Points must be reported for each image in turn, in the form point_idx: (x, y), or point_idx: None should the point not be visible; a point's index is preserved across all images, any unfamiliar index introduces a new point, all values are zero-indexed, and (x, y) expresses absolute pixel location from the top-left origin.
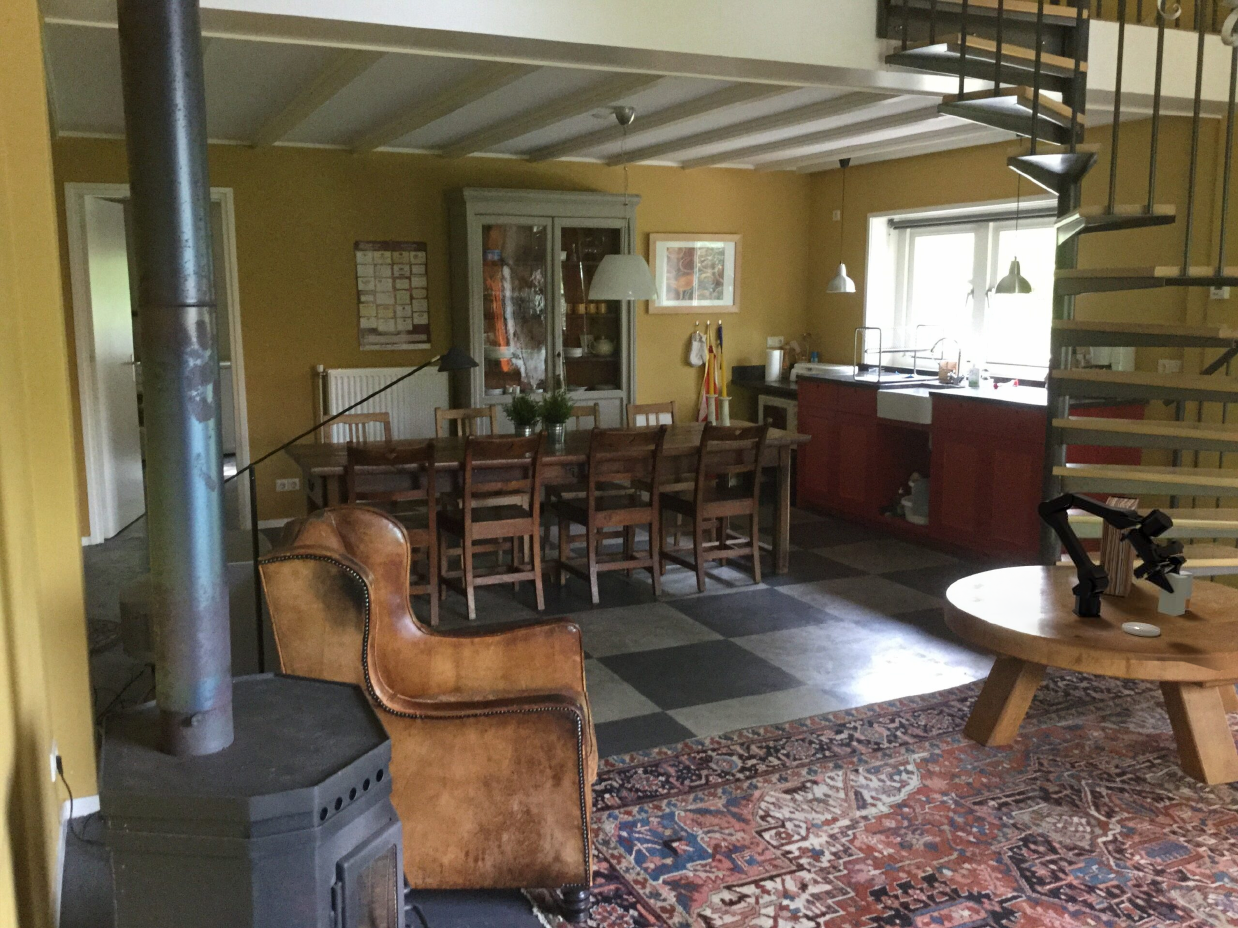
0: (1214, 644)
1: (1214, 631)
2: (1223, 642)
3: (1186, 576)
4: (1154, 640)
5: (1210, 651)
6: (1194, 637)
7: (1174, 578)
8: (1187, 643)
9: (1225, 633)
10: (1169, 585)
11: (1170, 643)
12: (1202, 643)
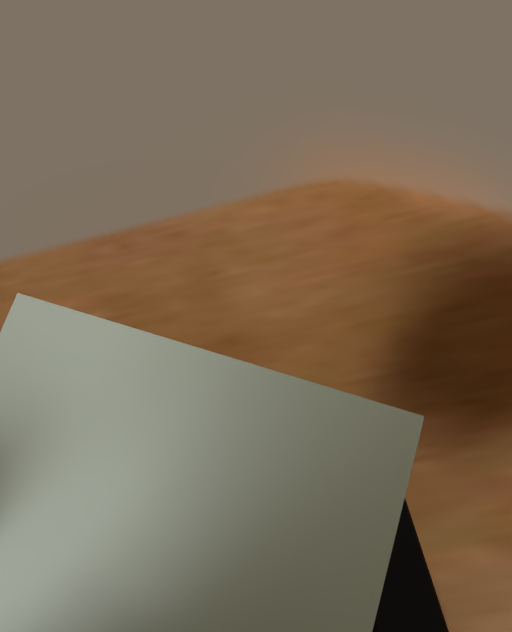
0: (283, 245)
1: (50, 302)
2: (216, 225)
3: (17, 328)
4: (455, 524)
5: (433, 226)
6: (219, 350)
7: (393, 538)
8: (367, 351)
9: (56, 257)
10: (429, 587)
11: (445, 427)
12: (307, 292)
